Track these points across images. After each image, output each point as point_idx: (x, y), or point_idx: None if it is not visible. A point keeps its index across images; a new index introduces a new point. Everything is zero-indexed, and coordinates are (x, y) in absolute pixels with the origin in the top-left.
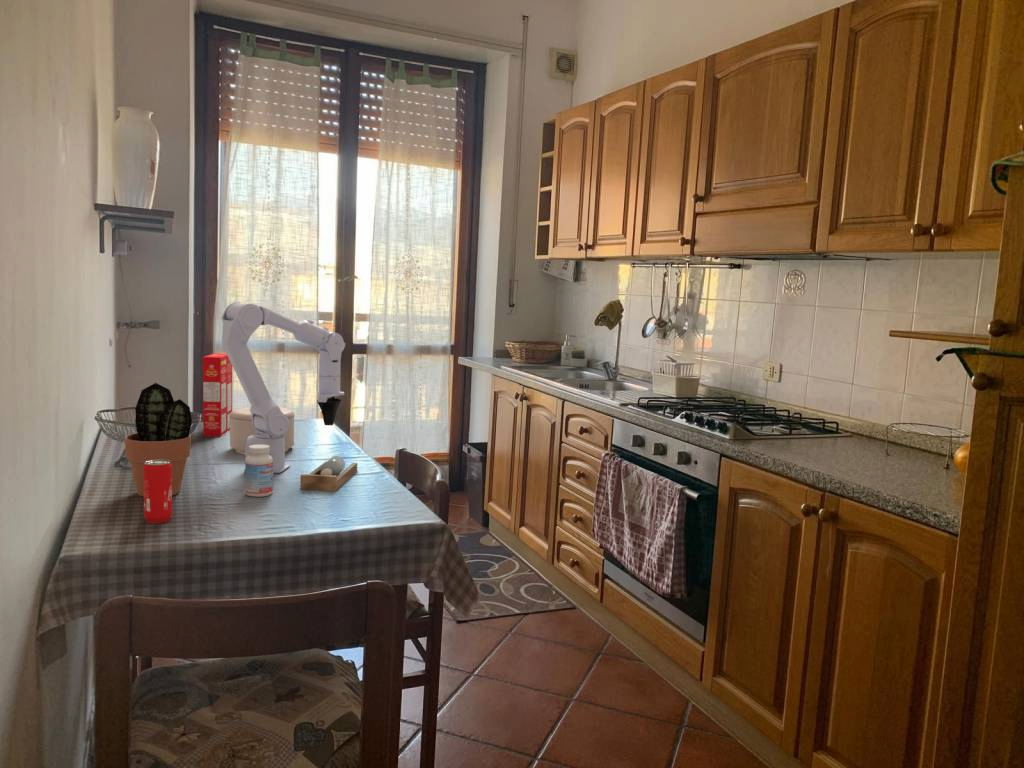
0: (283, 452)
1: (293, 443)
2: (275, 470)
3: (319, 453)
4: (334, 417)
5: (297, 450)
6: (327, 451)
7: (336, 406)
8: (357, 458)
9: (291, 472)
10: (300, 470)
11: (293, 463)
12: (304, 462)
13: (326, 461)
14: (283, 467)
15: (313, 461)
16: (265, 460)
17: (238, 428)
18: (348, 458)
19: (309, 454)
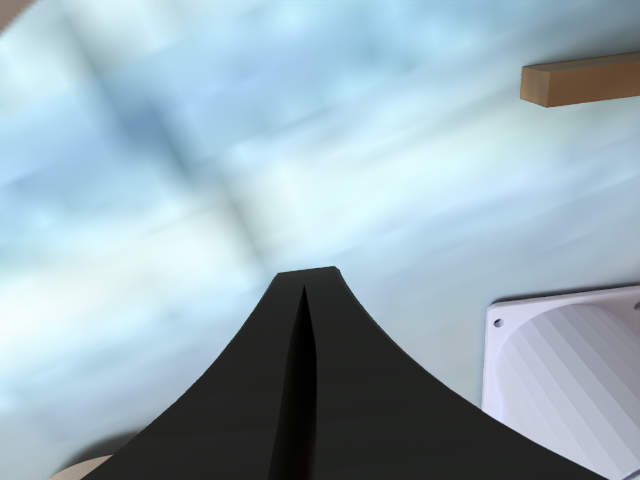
0: (632, 362)
1: (96, 466)
2: (630, 315)
3: (108, 306)
4: (293, 310)
5: (105, 419)
6: (31, 290)
7: (343, 442)
8: (110, 20)
9: (607, 247)
10: (556, 226)
11: (399, 321)
12: (359, 284)
13: (546, 102)
14: (577, 306)
15: (319, 253)
16: None
17: None
18: (145, 87)
19: (161, 339)
